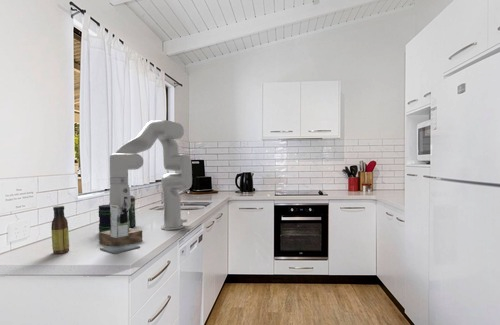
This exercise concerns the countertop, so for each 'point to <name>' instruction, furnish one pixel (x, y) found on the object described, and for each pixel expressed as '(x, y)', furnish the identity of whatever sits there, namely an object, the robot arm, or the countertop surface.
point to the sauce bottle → (60, 231)
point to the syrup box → (118, 223)
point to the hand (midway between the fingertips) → (119, 221)
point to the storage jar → (104, 218)
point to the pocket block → (132, 238)
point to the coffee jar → (132, 213)
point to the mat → (119, 248)
